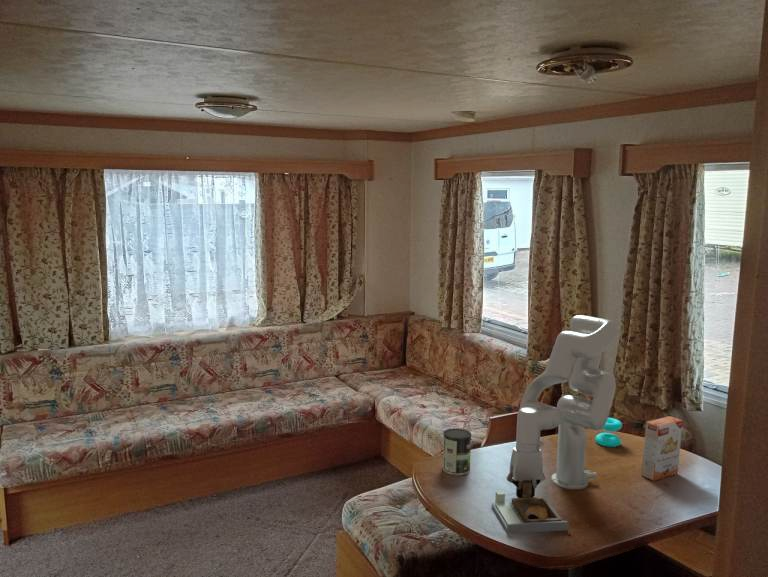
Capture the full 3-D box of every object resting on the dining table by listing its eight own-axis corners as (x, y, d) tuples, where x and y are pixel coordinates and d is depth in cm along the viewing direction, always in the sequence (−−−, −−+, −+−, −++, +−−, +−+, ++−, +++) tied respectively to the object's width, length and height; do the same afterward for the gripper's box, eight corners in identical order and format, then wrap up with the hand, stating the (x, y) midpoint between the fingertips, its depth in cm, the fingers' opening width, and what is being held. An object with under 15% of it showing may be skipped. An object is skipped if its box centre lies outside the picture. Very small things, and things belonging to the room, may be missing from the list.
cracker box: (654, 482, 228) (659, 426, 225) (640, 476, 234) (644, 421, 231) (679, 474, 236) (683, 419, 233) (664, 468, 241) (669, 415, 238)
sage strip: (505, 502, 211) (505, 490, 210) (523, 530, 193) (524, 518, 192) (492, 502, 210) (492, 491, 210) (509, 531, 192) (509, 518, 192)
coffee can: (471, 465, 241) (472, 429, 239) (469, 476, 231) (470, 439, 229) (443, 462, 243) (444, 427, 241) (440, 473, 233) (441, 436, 231)
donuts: (599, 423, 259) (594, 415, 269) (597, 447, 260) (593, 438, 270) (625, 425, 258) (619, 417, 267) (623, 449, 259) (617, 439, 269)
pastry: (531, 509, 208) (532, 498, 207) (552, 514, 204) (552, 503, 204) (522, 521, 199) (522, 510, 199) (543, 527, 196) (544, 515, 196)
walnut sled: (539, 498, 214) (540, 478, 213) (561, 527, 195) (562, 505, 194) (507, 499, 213) (508, 479, 212) (526, 528, 194) (527, 507, 193)
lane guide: (547, 505, 210) (547, 496, 209) (567, 531, 194) (567, 521, 193) (491, 507, 208) (492, 498, 207) (507, 534, 191) (507, 524, 191)
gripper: (547, 440, 214) (544, 492, 216) (500, 442, 212) (497, 494, 214) (556, 449, 206) (553, 502, 209) (507, 450, 204) (504, 504, 207)
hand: (525, 498), depth 212 cm, fingers closed on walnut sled, 3 cm apart
